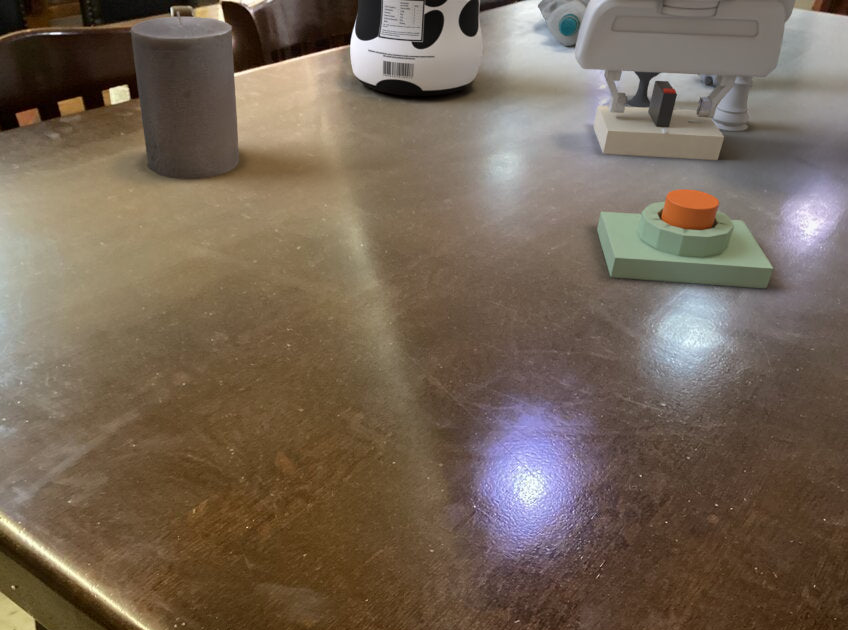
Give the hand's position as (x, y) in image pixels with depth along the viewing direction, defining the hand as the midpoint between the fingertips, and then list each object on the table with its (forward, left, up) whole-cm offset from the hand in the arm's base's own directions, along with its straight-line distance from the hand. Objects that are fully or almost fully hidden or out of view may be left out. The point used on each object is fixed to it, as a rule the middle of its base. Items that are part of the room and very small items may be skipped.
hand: (659, 113), depth 89 cm
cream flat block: (0, 0, -4) cm, 4 cm away
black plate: (0, 0, -1) cm, 1 cm away
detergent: (+4, -54, -4) cm, 54 cm away
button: (+3, +29, 0) cm, 29 cm away
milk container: (+28, -19, -4) cm, 34 cm away
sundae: (-1, -15, -4) cm, 16 cm away
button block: (+3, +29, -4) cm, 29 cm away
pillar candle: (+49, +14, -4) cm, 51 cm away
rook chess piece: (-10, -8, -4) cm, 13 cm away
